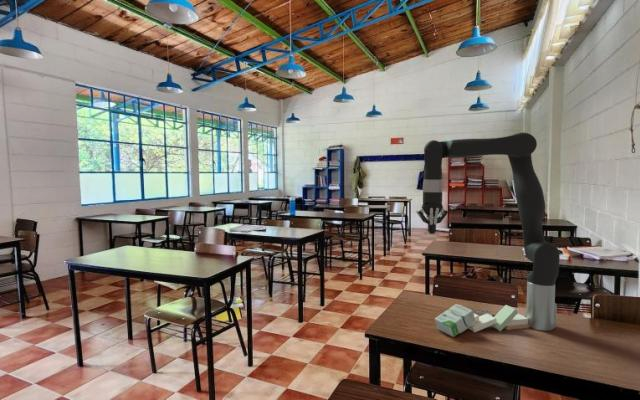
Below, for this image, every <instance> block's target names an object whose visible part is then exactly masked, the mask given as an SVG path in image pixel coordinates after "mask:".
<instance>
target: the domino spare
mask: <svg viewBox="0 0 640 400" xmlns="http://www.w3.org/2000/svg"><path fill="white" fill-rule="evenodd" d="M517 314H519V312H518V311H517V310H516V308H514V307H511V306H510V305H507V304H505V305H504V306H503V307H502V308H500V310H499V312H497V313H496V314H495V316H494V317H495V318H496V321H497V323H496V324H494V325H491V326H490V327H491V328H493V329H495V330H497V331H498V332H502V330H504V327H505V326H506V325H507V324H508V323H509V322H510V321H511V320H512V319H513V318H514V317H515V316H516V315H517Z"/></svg>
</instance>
